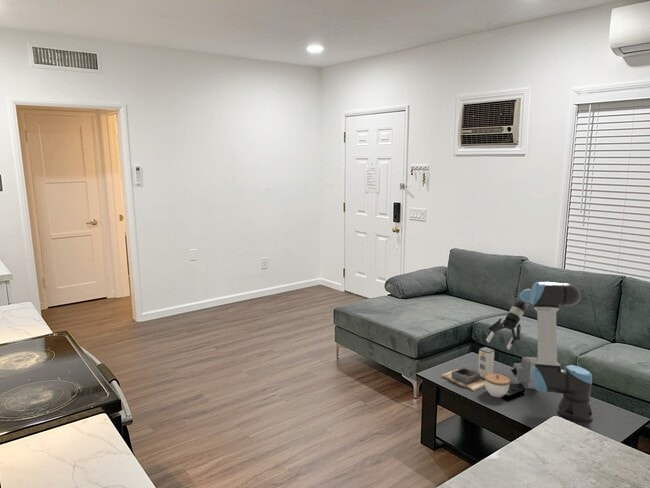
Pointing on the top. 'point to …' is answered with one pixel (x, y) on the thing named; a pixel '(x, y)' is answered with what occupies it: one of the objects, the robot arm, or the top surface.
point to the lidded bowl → (496, 384)
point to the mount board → (471, 386)
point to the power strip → (485, 361)
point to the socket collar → (459, 374)
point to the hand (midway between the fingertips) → (497, 344)
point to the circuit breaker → (524, 371)
